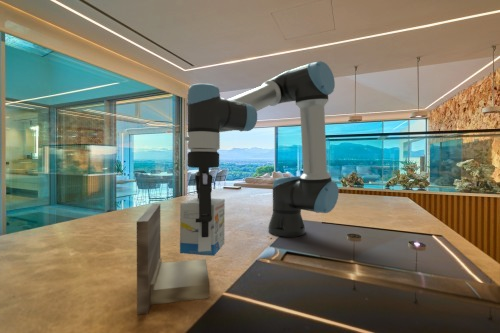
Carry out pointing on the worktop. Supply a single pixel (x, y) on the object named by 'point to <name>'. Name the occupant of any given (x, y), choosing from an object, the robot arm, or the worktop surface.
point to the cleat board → (164, 269)
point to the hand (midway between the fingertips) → (203, 242)
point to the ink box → (190, 226)
